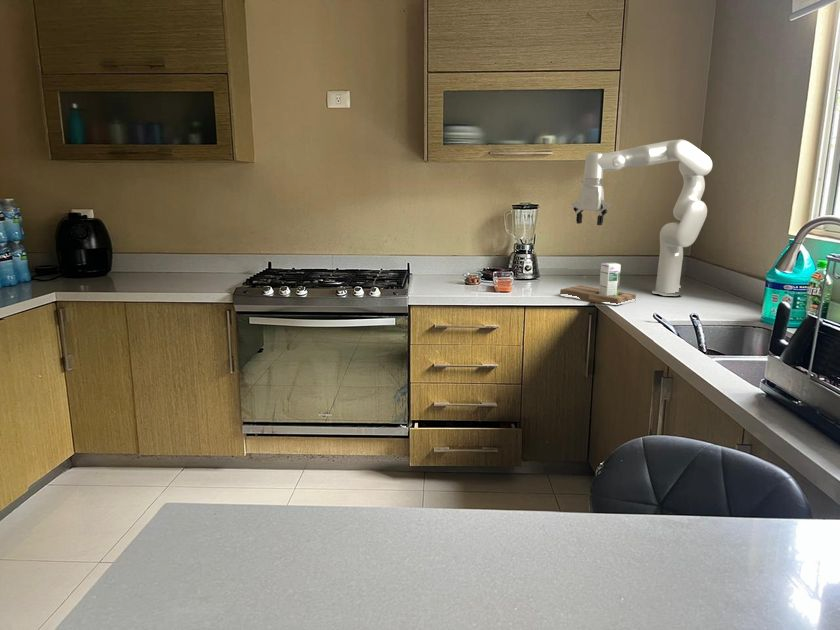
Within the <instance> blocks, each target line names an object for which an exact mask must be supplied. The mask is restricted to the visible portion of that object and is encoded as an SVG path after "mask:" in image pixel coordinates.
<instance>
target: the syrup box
mask: <svg viewBox="0 0 840 630" xmlns="http://www.w3.org/2000/svg"><path fill="white" fill-rule="evenodd" d="M621 267H622V265H621V263H617V262H601V264H600V276H599V285H598V288H599V294H601V295H607V296H613V297H614V296H618V292H620V279H621Z"/></svg>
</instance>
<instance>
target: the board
mask: <svg viewBox="0 0 840 630" xmlns="http://www.w3.org/2000/svg"><path fill="white" fill-rule="evenodd" d="M560 294H568V295H572V296H577V297H579V298H580V299H581V300H580V301H583V302H591V303H596V304H600V305H602V304H601V302H610V303H616V304H618V303H621V302H625V301H628V300H632V299H635V298H636V297H637V293H636V294H635V293H630V292H624V291H619V292H618V296H614V297H613V296H607V295H601V294H599V287H593V286H586V285H581V284H579V285H575V286H570V287H566V288H561V289H560V293H559V295H560ZM635 300H636V299H635Z"/></svg>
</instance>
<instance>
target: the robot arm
mask: <svg viewBox="0 0 840 630" xmlns="http://www.w3.org/2000/svg"><path fill="white" fill-rule="evenodd" d="M669 162H679V164H678V170H679V172H680V174H681V176H682V178H683V187H682V189H681V192H680V194H679V196H678V198H677V201H676V203H675V205H674V207H673V211H672V214H673V217H674V218H675V219H676V220H678V221H680V222H668V223H666V224H664V225H663V226H662V227H661V230H660V232H659V257H658V266H657V272H656V273H657V274H656V275H657V276H656V281H655V282H656V283H655V290H656V291H658V292H665V293H675V292H680V289H681V286H682V285H680V283H681V277H682V267H683V259H684V248H688V247H690V246H691V245H693V244H694V243H695V241H696V240H697V238H698V236H699V235H700V233H701V229H702V227H703V226H704V223H705V220H706V218H707V214H708V207H707V205H706V203H705V201H703V200H701V199H702V197H703V195H704V192H705V189H706V188H705V187H706V181H705V177H704V176H707V175H708V174H709V173H710V172H711V171H712V169H713V161H712V159H711V157H710V156H709V155H707V154H706V153H705V152H703V151H702V150H701V149H700V148H698V147H697V146H695V145H694V144H693V143H691V142H690V141H688V140H685V139H672V140H666V141H660V142H654V143H650V144H644V145H639V146H635V147H631V148H627V149H622V150H616V151H610V152H604V153H603V152H594V151H593V152H588V153H586V155H585V163H584V173H583V179H581V180H580V183H581V184H583V185H581V187H580V190H579V192H578V193H579V194H578V199H577V200H576V201H574V202H572V203H571V205H572V208H573V211H574V212H575V214H576V217H575V218H576V219H575V220H576V221H575V222H576V224H577V225H578V224H582V222H583V214H582V213H583V212H584V211H589V212H590V211H594V212H597V214H598V215H597V219H596V220H597V221H596V225H597V226H602V225H603V224H604V216H605V215H606V214H607V213H608V211H609V210H610V209H611V205H610V204H609V203H607V202H606V201H605V191H604V186H603V177H604V172H617V171H620V170H622V169H626V168H633V167H634V168H637V167H638V168H639V167H648V166H653V165H658V164H663V163H669ZM604 207H605V208H604ZM679 288H680V289H679Z"/></svg>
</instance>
